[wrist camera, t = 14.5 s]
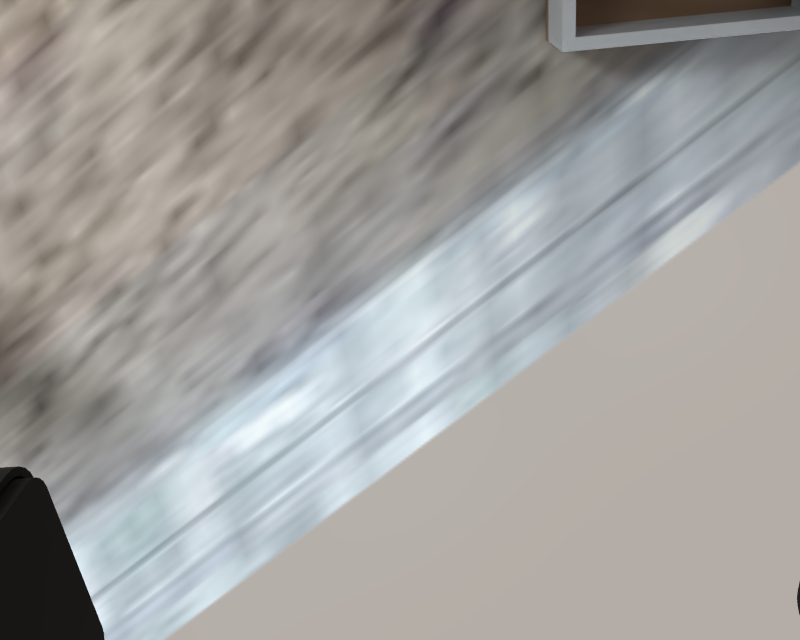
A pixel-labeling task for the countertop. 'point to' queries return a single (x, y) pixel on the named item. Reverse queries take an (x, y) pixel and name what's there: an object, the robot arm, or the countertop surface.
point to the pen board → (657, 9)
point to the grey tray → (664, 27)
